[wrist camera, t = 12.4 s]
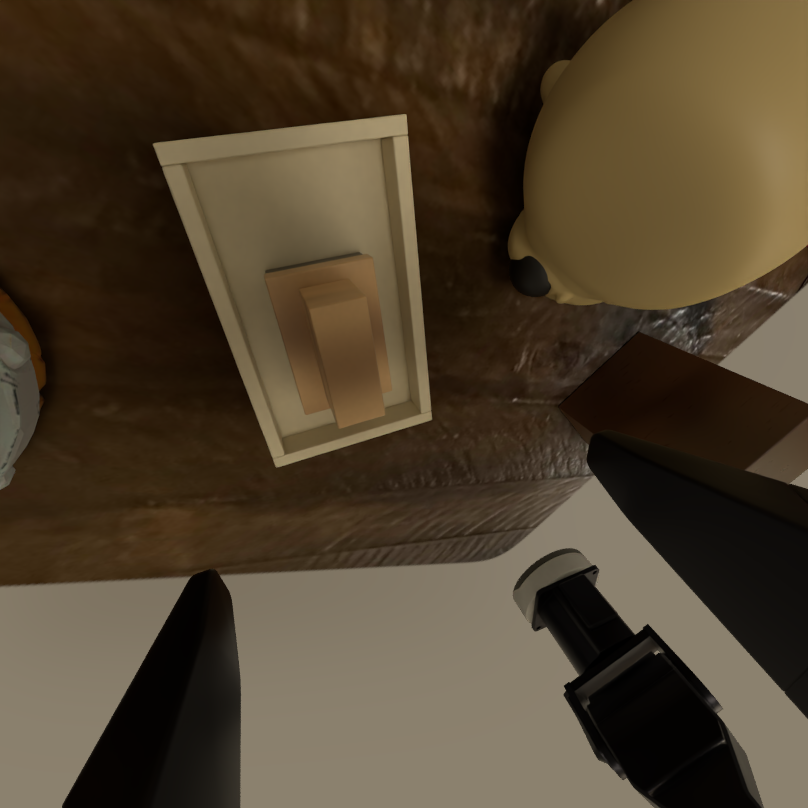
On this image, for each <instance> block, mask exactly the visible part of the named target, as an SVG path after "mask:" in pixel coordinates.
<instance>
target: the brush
mask: <svg viewBox="0 0 808 808" xmlns="http://www.w3.org/2000/svg"><path fill="white" fill-rule="evenodd" d="M265 273H266V274H264V279H265V283H266V286H267V290H268V293H269V296H270V300H271V303H272V306H273V310H274V313H275V316H276V320H277V323H278V326H279V330H280V333H281V336H282V340H283V343H284V346H285V350H286V353H287V356H288V360H289V363H290V366H291V370H292V373H293V376H294V380H295V383H296V386H297V390H298V393H299V396H300V400H301V403H302V406H303V410H304V413H305V415H309V414H312V413H316V412H319V411H323V410H326V409H330V408H331V411H332V414H333V416H334V419H335V421H336V424H337V426H338V428H339V429H340V428H344V427H347V426H351V425H354V424H357V423H361V422H364V421H367V420H371V419H374V418H377V417H381V416H384V415H385V408H384V401H383V395H382V394H383V393H386V392H390V391H392V384H391V377H390V370H389V363H388V356H387V349H386V343H385V336H384V329H383V322H382V315H381V308H380V302H379V295H378V288H377V281H376V274H375V267H374V260H373V257H371V256H370V255H369V254H362V253H360V252H356V253H351V254H346V255H341V256H336V257H330V258H325V259H320V260H315V261H310V262H305V263H300V264H295V265H290V266H284V267H279V268H274V269H269V270H266V271H265Z"/></svg>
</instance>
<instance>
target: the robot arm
mask: <svg viewBox="0 0 808 808" xmlns="http://www.w3.org/2000/svg"><path fill="white" fill-rule="evenodd" d="M587 463H588V466H589V468H590V469H591V471H592V472H593V473H594V475H595V476H596V477H597V479H598V480H599V481H600V483H601V484H602V485H603V487H604V488H605V489H606V491H607V492H608V493H609V495H610V496H611V497H612V499H613V500H614V502H615V503H616V504H617V506H618V507H619V508H620V510H621V511H622V512H623V513H624V515H625V516H626V517H627V518H628V520H629V521H630V522H631V523H632V524H633V525H634V526H635V528H636V529H637V530H638V531H639V532H640V533H641V534H642V535H643V536H644V537H645V539H646V540H647V541H648V542H649V543H650V544H651V545H652V546H653V547H654V549H655V550H656V551H657V552H658V553H659V554H660V555H661V556H662V557H663V558H664V560H665V561H666V562H667V563H668V564H669V565H670V566H671V567H672V569H673V570H674V571H675V572H676V573H677V574H678V575H679V576H680V577H681V578H682V579H683V581H684V582H685V583H686V584H687V585H688V586H689V587H690V589H691V590H693V592H694V593H695V594H696V595H697V596H698V597H699V598H700V600H701V601H702V602H703V603H704V604H705V605H706V606H707V607H708V608H709V610H710V611H711V612H712V613H713V614H714V615H715V616H716V617H717V618H718V619H719V621H720V622H721V623H722V624H723V625H724V626H725V627H726V628H727V630H728V631H729V632H730V633H731V634H732V635H733V636H734V637H735V638H736V640H737V641H738V642H739V643H740V644H741V645H742V646H743V647H744V648H745V649H746V651H747V652H748V653H749V654H750V655H751V656H752V657H753V658H754V659H755V660H756V662H757V663H758V664H759V665H760V666H761V667H762V668H763V669H764V670H765V672H766V673H767V674H768V675H769V676H770V677H771V678H772V679H773V681H775V683H776V684H777V685H778V686H779V687H780V688H781V689H782V690H783V691H785V694H786V695H787V696H788V698H789V699H790V700H791V701H792V702H793V703H794V704H795V705H796V706H797V707H798V709H799V710H800V711H801V712H802V713H803V714H804V715H805V716H806V717H807V719H808V489H806V488H803V487H799V486H796V485H792V484H787V483H786V482H783V481H779V480H776V479H773V478H769V477H766V476H763V475H759V474H756V473H753V472H749V471H746V470H743V469H739V468H736V467H733V466H729V465H726V464H723V463H719V462H716V461H713V460H709V459H706V458H703V457H699V456H696V455H693V454H689V453H686V452H683V451H679V450H676V449H673V448H669V447H666V446H663V445H659V444H656V443H653V442H649V441H646V440H643V439H639V438H636V437H633V436H629V435H626V434H623V433H619V432H616V431H613V430H603V431H600V432H597V433H594V434H593V435H592V436H591V439H590V443H589V449H588V454H587ZM598 573H599V569H598V568H597V566H596V565H593V566H591V567H588V568H586V569H584V570H582V571H579V572H577V573H575V574H573V575H570V576H568V577H566V578H563V579H561V580H559V581H557V582H554V583H552V584H550V585H548V586H545V587H543V588H541V589H539V590H538V591H537V592H536V596H535V604H534V611H533V619H532V628H533V630H534V631H538V630H540V629H543V628H545V627H547V628H548V629H549V631H550V632H551V634H552V635H553V637H554V638H555V640H556V641H557V643H558V644H559V646H560V647H561V649H562V650H563V652H564V653H565V655H566V656H567V658H568V659H569V661H570V662H571V664H572V665H573V667H574V668H575V670H576V671H577V673H578V674H579V677H577V678H576V679H575V680H573V681H572V682H571V683H570V682H568V683H567V684H566V685H564V687H565V689H566V692H565V693H564V697H565V698H566V700H567V702H568V703H569V705H570V707H571V708H572V710H573V712H574V713H575V715H576V717H577V719H578V720H579V723H580V725H581V726H582V729H583V731H584V733H585V735H586V737H587V739H588V741H589V743H590V745H591V747H592V750H593V752H594V754H595V755H596V757H597V758H598V760H599V761H602V762H604V763H607V764H608V765H609V766H610V767H611V768H612V769H613V770H614V771H615V772H616V773H617V774H618V776H619V777H620V778H622V780H624V779H626V778H628V780H629V781H630V783H631V784H632V786H633V787H634V788H635V789H636V790H637V791H638V792H639V793H640V794H641V795H642V796H643V797H644V798H645V799H646V800H647V801H648V802H649V803H650V804H651V805H652V806H653V807H654V808H764V807H763V804H762V801H761V798H760V795H759V792H758V789H757V786H756V782H755V780H754V776H753V773H752V770H751V767H750V764H749V761H748V758H747V755H746V753H745V751H744V750H743V749H742V747H741V746H740V745H739V743H738V742H737V740H736V739H735V738H734V736H733V735H732V733H731V732H730V731H729V729H728V728H727V727H726V725H725V724H724V722H723V721H722V720H721V718H720V717H719V716H718V715H717V713H718V712H719V711H721V710H722V709H723V708H722V706H721V705H720V704H719V702H718V701H717V700H716V699H715V697H714V696H713V695H712V694H711V693H710V691H709V690H708V689H707V688H706V687H705V686H704V685H703V683H702V682H701V681H700V680H699V679H698V678H697V677H696V675H695V674H694V673H693V672H692V671H691V670H690V669H689V668H688V667H687V666H686V665H685V663H684V662H683V661H682V660H681V659H680V658H679V657H678V656H677V655H676V654H675V653H674V652H673V650H671V649H670V647H669V646H668V645H667V644H666V643H665V642H664V641H663V640H662V639H661V638H660V637H659V635H657V633H656V632H655V631H654V630H653V629H652V628H651V627H650V626H649V625H648V624H647V625H646V626H644V627H643V630H641V631H640V632H639V633H637V634H636V635H635V634H634V633H633V632H632V631H631V629H630V628H629V627H628V626H627V625H626V623H624V621H623V620H622V619H621V617H620V616H619V615H618V613H617V612H616V611H615V610H614V608H613V607H612V606H611V605H610V604H609V602H608V601H607V600H606V599H605V598H604V597H603V596H602V594H601V593H600V592H599V591H598V589H597V588H596V587H595V584H596V580H597V577H598ZM657 650H658V651H659V652H660V653H658V654H657V655H655V654H654V652H656V651H657ZM240 728H241V687H240V671H239V661H238V651H237V642H236V633H235V624H234V615H233V606H232V599H231V595H230V593H229V590H228V589H227V587H226V585H225V584H224V582H223V580H222V579H221V577H220V575H219V574H218V572H217V571H216V570H215V569H209V570H206V571H203V572H200V573H197V574H195V575H193V576H192V577H191V578H190V579H189V581H188V583H187V584H186V586H185V588H184V590H183V592H182V593H181V595H180V597H179V599H178V601H177V602H176V604H175V606H174V608H173V609H172V611H171V613H170V615H169V616H168V618H167V620H166V622H165V624H164V625H163V627H162V629H161V631H160V632H159V634H158V636H157V638H156V640H155V641H154V643H153V645H152V647H151V648H150V650H149V652H148V654H147V655H146V658H145V659H144V661H143V663H142V665H141V666H140V668H139V670H138V672H137V673H136V675H135V677H134V679H133V681H132V682H131V684H130V686H129V688H128V689H127V691H126V693H125V695H124V696H123V698H122V700H121V702H120V704H119V705H118V707H117V709H116V711H115V712H114V714H113V716H112V718H111V720H110V721H109V723H108V725H107V727H106V728H105V730H104V732H103V734H102V736H101V737H100V739H99V741H98V742H97V744H96V746H95V748H94V750H93V751H92V753H91V755H90V757H89V758H88V760H87V762H86V764H85V766H84V767H83V769H82V771H81V773H80V774H79V776H78V778H77V780H76V782H75V783H74V785H73V787H72V789H71V790H70V792H69V794H68V796H67V798H66V799H65V801H64V803H63V805H62V808H240V736H241V735H240V734H241V729H240Z"/></svg>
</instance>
